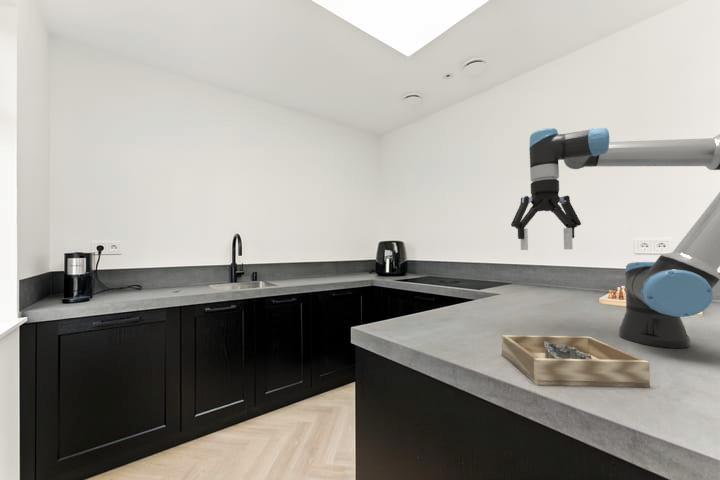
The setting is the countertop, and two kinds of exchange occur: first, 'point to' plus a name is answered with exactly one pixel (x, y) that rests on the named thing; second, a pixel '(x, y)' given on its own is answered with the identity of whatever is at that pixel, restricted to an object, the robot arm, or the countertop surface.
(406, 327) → the countertop surface
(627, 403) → the countertop surface
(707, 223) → the robot arm
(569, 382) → the tray
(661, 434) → the countertop surface
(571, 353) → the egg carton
